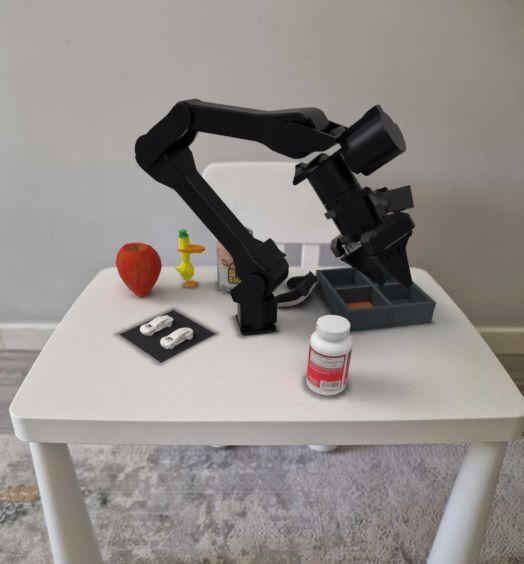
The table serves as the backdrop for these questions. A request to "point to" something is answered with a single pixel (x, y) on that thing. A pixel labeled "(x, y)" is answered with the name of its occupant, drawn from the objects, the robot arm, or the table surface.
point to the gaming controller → (297, 290)
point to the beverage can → (226, 268)
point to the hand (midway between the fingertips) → (395, 285)
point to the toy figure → (187, 257)
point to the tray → (372, 300)
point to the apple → (138, 267)
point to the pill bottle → (329, 355)
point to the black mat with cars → (167, 335)
